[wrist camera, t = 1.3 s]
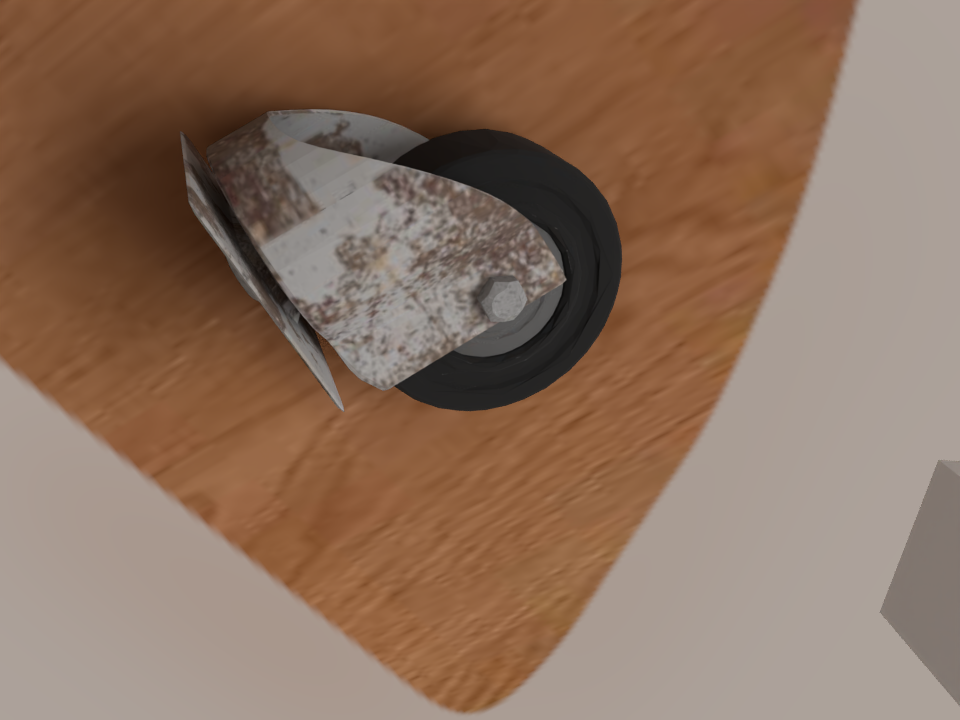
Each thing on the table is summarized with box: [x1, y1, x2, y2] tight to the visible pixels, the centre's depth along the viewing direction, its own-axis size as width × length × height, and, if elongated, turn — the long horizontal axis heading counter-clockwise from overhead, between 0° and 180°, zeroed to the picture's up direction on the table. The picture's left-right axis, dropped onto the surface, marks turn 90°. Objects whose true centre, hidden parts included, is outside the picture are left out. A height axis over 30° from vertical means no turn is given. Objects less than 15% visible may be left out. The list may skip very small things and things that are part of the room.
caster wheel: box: [180, 109, 622, 412], centre depth 23 cm, size 7×11×10 cm
